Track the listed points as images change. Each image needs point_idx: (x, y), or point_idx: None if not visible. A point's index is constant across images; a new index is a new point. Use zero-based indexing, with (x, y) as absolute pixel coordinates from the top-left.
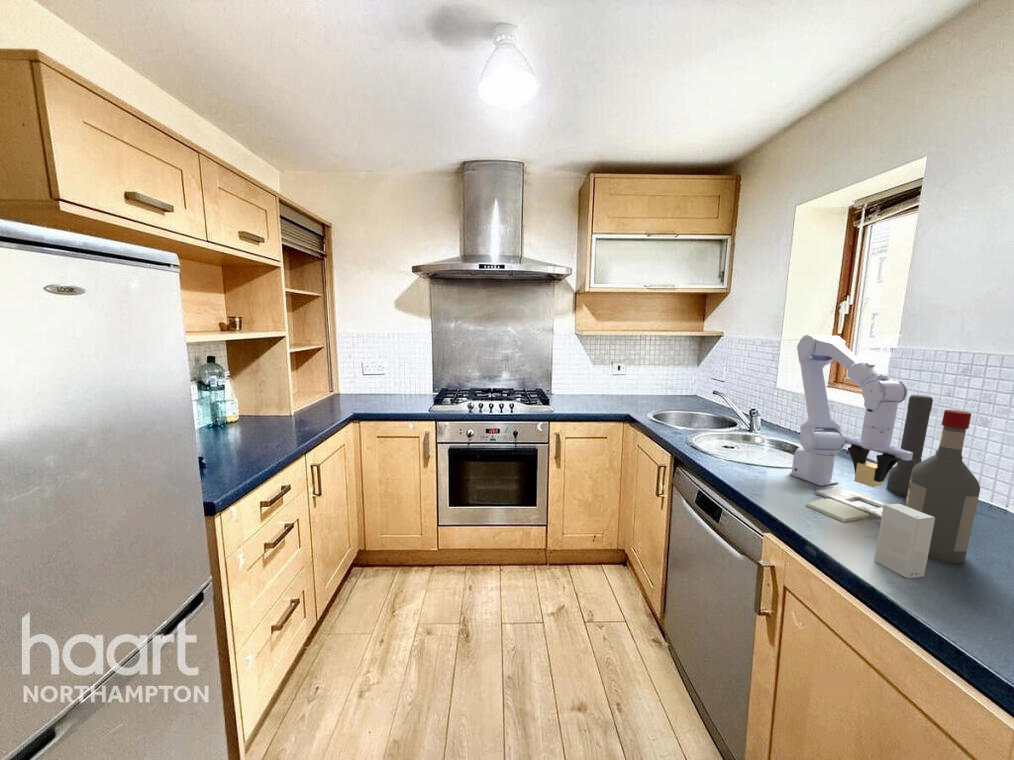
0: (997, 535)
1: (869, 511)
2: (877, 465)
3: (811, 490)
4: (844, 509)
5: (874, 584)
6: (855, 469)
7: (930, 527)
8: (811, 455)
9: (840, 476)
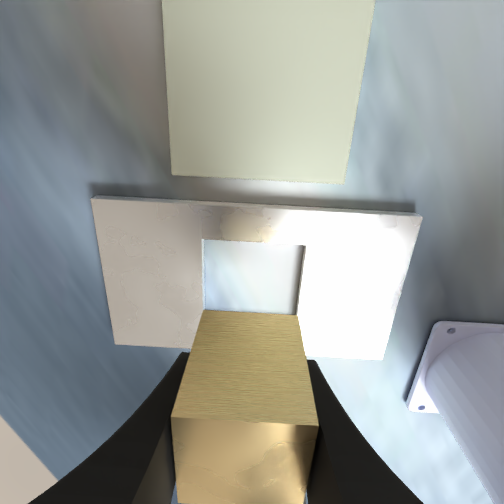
0: (7, 407)
1: (188, 208)
2: (152, 448)
3: (441, 236)
4: (239, 108)
5: None
6: (320, 382)
7: None
8: None
9: (426, 464)
